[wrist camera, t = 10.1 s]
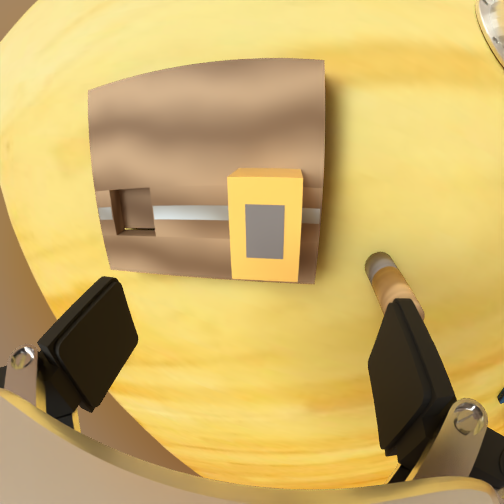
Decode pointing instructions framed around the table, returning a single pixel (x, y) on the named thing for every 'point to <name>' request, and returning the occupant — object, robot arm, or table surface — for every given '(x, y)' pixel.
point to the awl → (388, 281)
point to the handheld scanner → (501, 397)
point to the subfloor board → (202, 158)
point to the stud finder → (265, 223)
